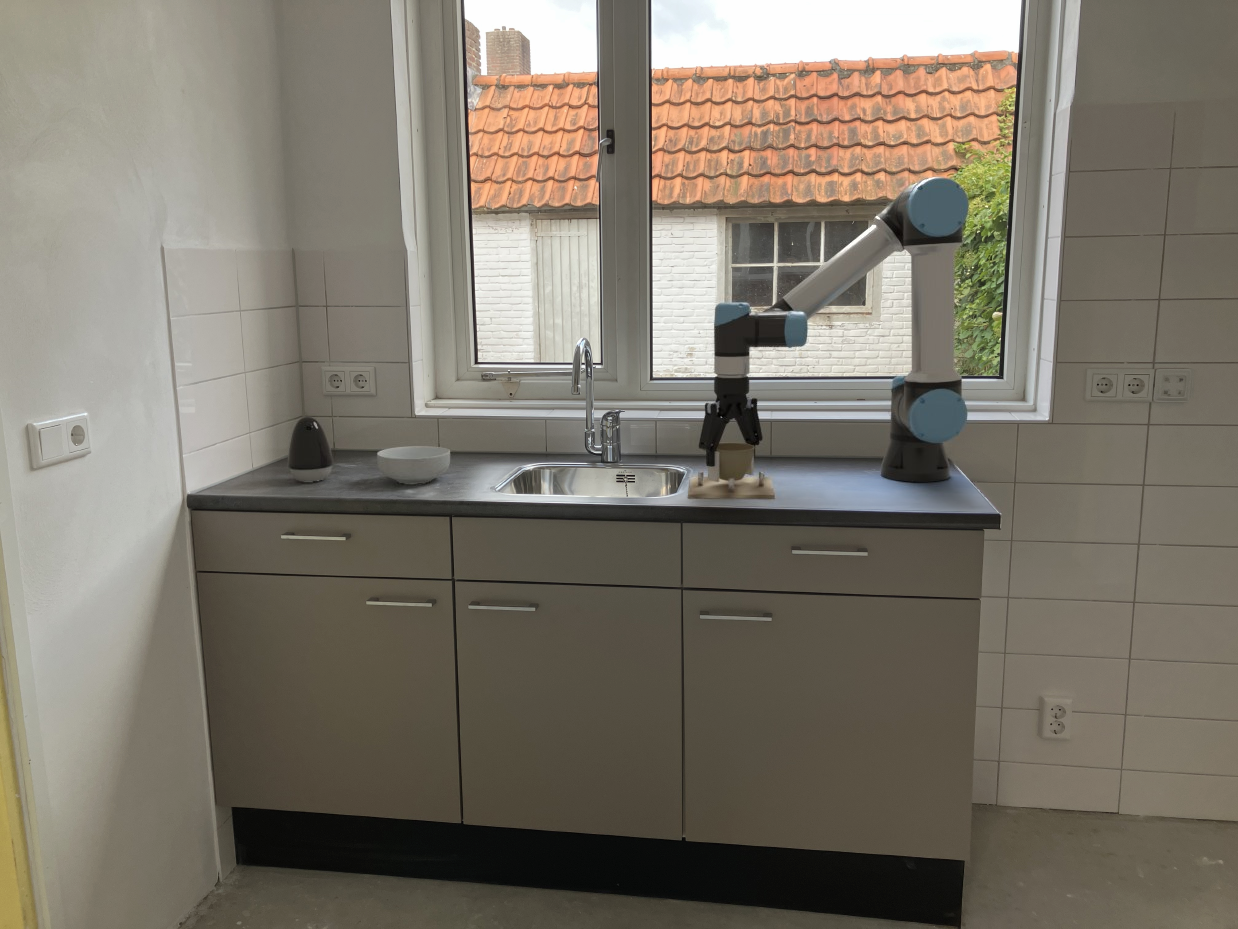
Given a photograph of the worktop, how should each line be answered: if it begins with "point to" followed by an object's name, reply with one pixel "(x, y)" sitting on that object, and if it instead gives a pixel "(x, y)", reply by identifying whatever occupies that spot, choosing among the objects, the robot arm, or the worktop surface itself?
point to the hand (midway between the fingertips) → (731, 477)
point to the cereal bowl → (413, 463)
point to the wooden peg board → (731, 487)
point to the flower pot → (734, 460)
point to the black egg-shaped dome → (309, 451)
